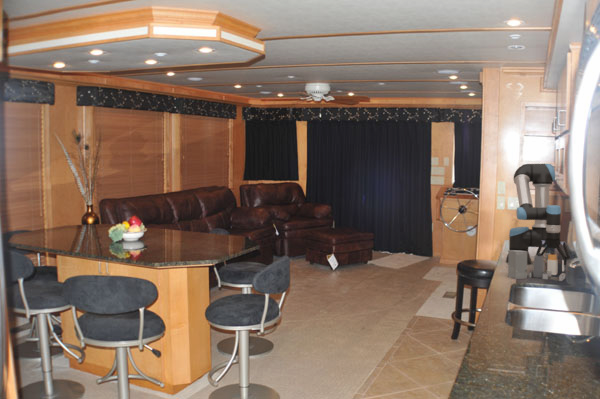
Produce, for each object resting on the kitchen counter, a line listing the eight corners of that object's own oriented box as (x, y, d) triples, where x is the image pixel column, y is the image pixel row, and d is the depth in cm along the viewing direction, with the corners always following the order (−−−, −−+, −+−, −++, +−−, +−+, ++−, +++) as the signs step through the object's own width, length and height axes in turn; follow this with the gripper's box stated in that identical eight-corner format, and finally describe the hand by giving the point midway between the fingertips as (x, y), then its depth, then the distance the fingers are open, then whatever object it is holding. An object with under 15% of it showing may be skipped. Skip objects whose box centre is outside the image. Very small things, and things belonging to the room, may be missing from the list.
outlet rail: (532, 275, 307) (532, 269, 306) (565, 279, 296) (565, 273, 296) (528, 278, 299) (528, 272, 299) (561, 282, 289) (561, 275, 289)
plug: (549, 273, 312) (549, 250, 311) (557, 274, 309) (557, 251, 308) (547, 275, 308) (547, 251, 307) (555, 276, 306) (556, 252, 305)
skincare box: (515, 280, 295) (515, 251, 294) (506, 277, 302) (507, 249, 301) (528, 279, 297) (528, 251, 297) (519, 276, 304) (520, 249, 303)
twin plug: (535, 275, 304) (535, 252, 303) (544, 276, 301) (544, 252, 300) (533, 277, 300) (533, 253, 299) (542, 278, 297) (542, 253, 297)
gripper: (530, 231, 311) (529, 268, 313) (574, 234, 297) (573, 273, 298) (533, 230, 317) (532, 266, 318) (576, 232, 303) (575, 271, 304)
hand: (552, 269), depth 308 cm, fingers open, 11 cm apart
